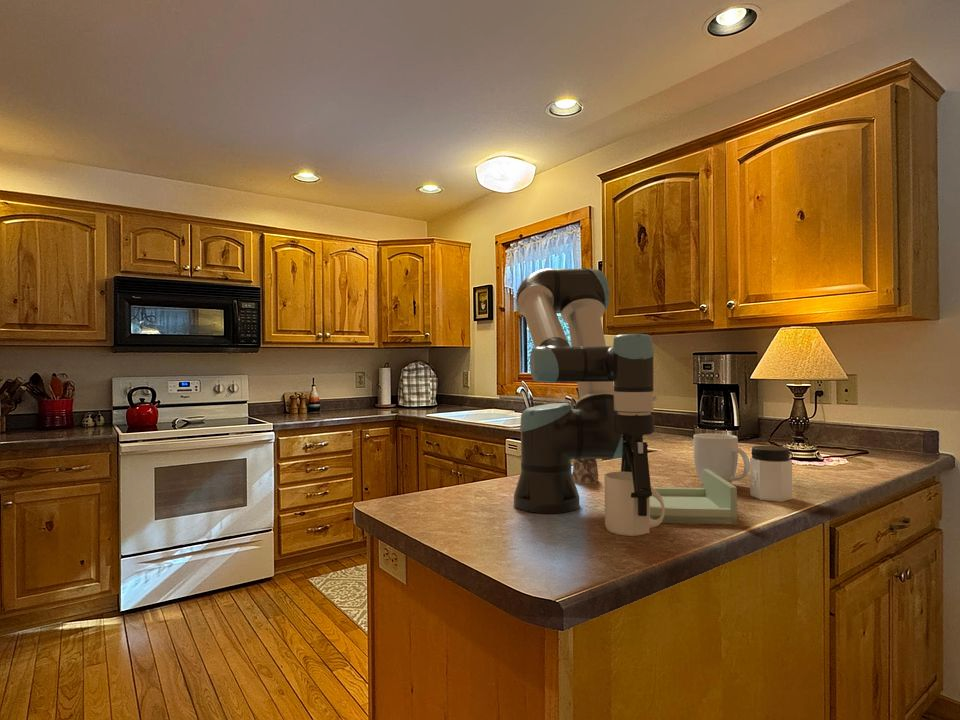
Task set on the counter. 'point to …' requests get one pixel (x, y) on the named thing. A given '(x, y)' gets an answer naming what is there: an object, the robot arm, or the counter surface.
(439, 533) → the counter surface
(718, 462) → the mug
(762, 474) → the jar
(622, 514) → the mug
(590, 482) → the figurine
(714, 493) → the tray
